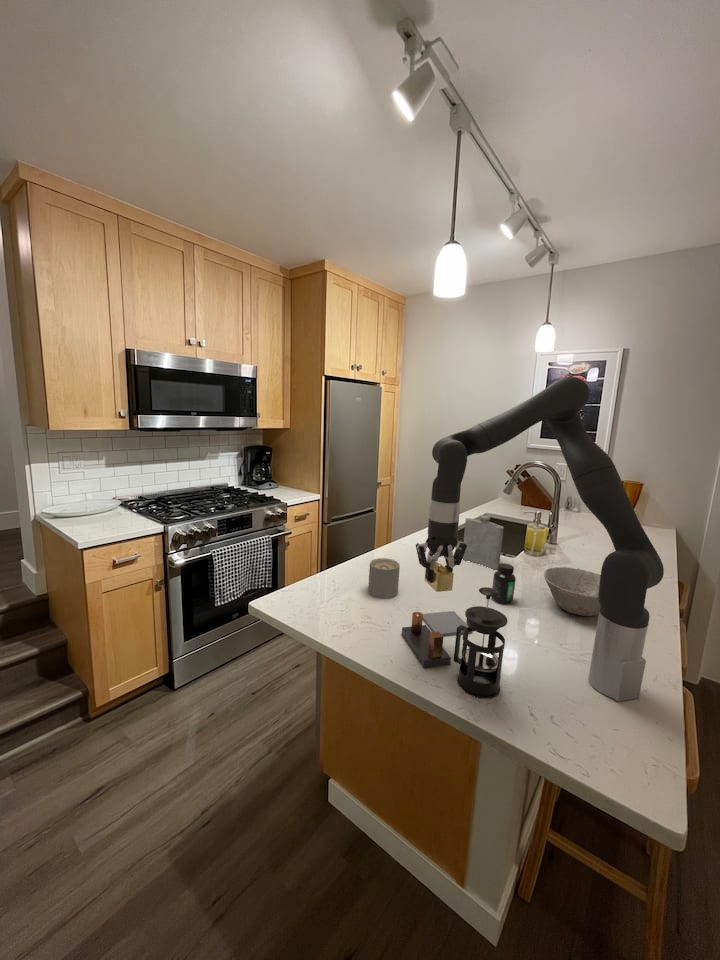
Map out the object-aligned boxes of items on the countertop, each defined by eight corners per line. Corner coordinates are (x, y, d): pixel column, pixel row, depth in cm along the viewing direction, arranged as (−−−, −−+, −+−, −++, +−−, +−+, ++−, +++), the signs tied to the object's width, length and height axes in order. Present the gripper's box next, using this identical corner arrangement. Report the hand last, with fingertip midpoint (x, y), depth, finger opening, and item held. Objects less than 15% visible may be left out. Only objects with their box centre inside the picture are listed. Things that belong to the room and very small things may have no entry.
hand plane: (450, 664, 99) (452, 636, 98) (423, 668, 97) (426, 639, 96) (425, 631, 113) (427, 606, 112) (401, 634, 112) (403, 608, 110)
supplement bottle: (514, 606, 131) (518, 571, 129) (492, 603, 132) (496, 568, 130) (511, 596, 138) (515, 563, 135) (490, 594, 139) (493, 560, 137)
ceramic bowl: (604, 599, 139) (609, 572, 137) (629, 635, 117) (634, 602, 115) (535, 589, 145) (538, 562, 143) (545, 620, 123) (550, 589, 121)
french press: (510, 687, 92) (522, 592, 88) (489, 707, 86) (502, 606, 81) (464, 662, 100) (474, 575, 96) (442, 679, 94) (451, 585, 90)
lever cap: (452, 590, 104) (454, 569, 103) (436, 591, 103) (438, 570, 102) (439, 579, 110) (440, 559, 109) (424, 580, 109) (426, 560, 108)
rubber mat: (472, 633, 114) (472, 630, 114) (436, 636, 111) (436, 634, 111) (453, 613, 124) (454, 611, 124) (420, 616, 121) (420, 614, 121)
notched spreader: (460, 559, 170) (464, 513, 166) (465, 557, 173) (469, 511, 169) (496, 571, 159) (502, 522, 156) (501, 568, 162) (506, 520, 158)
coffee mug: (383, 601, 130) (385, 572, 128) (362, 590, 137) (363, 562, 135) (410, 590, 139) (412, 562, 137) (389, 580, 146) (390, 553, 144)
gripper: (424, 522, 98) (419, 589, 101) (476, 520, 102) (470, 584, 105) (412, 514, 105) (407, 577, 108) (461, 512, 109) (455, 573, 112)
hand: (438, 580), depth 106 cm, fingers closed on lever cap, 4 cm apart
